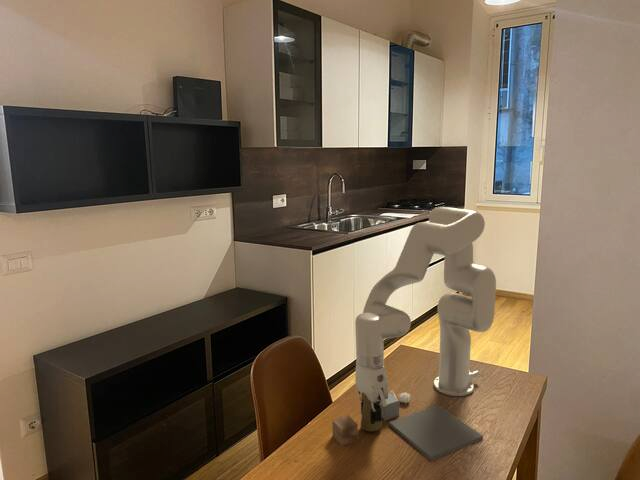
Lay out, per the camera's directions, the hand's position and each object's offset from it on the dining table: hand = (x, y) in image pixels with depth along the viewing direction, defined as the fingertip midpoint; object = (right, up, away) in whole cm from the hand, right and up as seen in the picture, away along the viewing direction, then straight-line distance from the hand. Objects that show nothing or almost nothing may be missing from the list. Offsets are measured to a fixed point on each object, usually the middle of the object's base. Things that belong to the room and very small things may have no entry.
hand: (371, 417), depth 136 cm
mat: (+17, -4, -1) cm, 18 cm away
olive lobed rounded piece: (0, -2, +1) cm, 2 cm away
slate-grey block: (+6, -2, +8) cm, 10 cm away
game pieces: (+8, 0, +17) cm, 19 cm away
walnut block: (-8, -5, -3) cm, 9 cm away
